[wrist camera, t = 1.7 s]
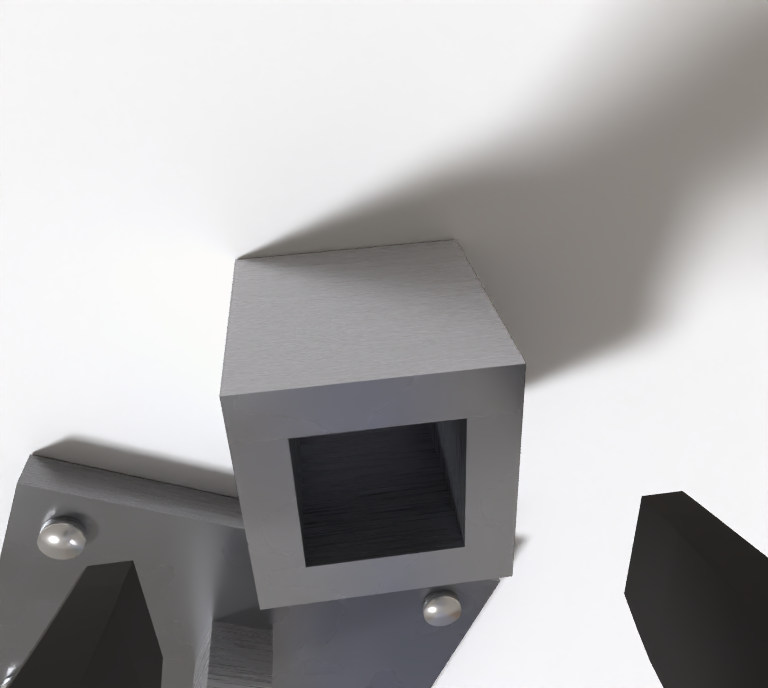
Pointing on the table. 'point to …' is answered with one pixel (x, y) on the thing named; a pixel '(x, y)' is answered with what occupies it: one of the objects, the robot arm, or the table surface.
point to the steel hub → (371, 422)
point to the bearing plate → (209, 590)
